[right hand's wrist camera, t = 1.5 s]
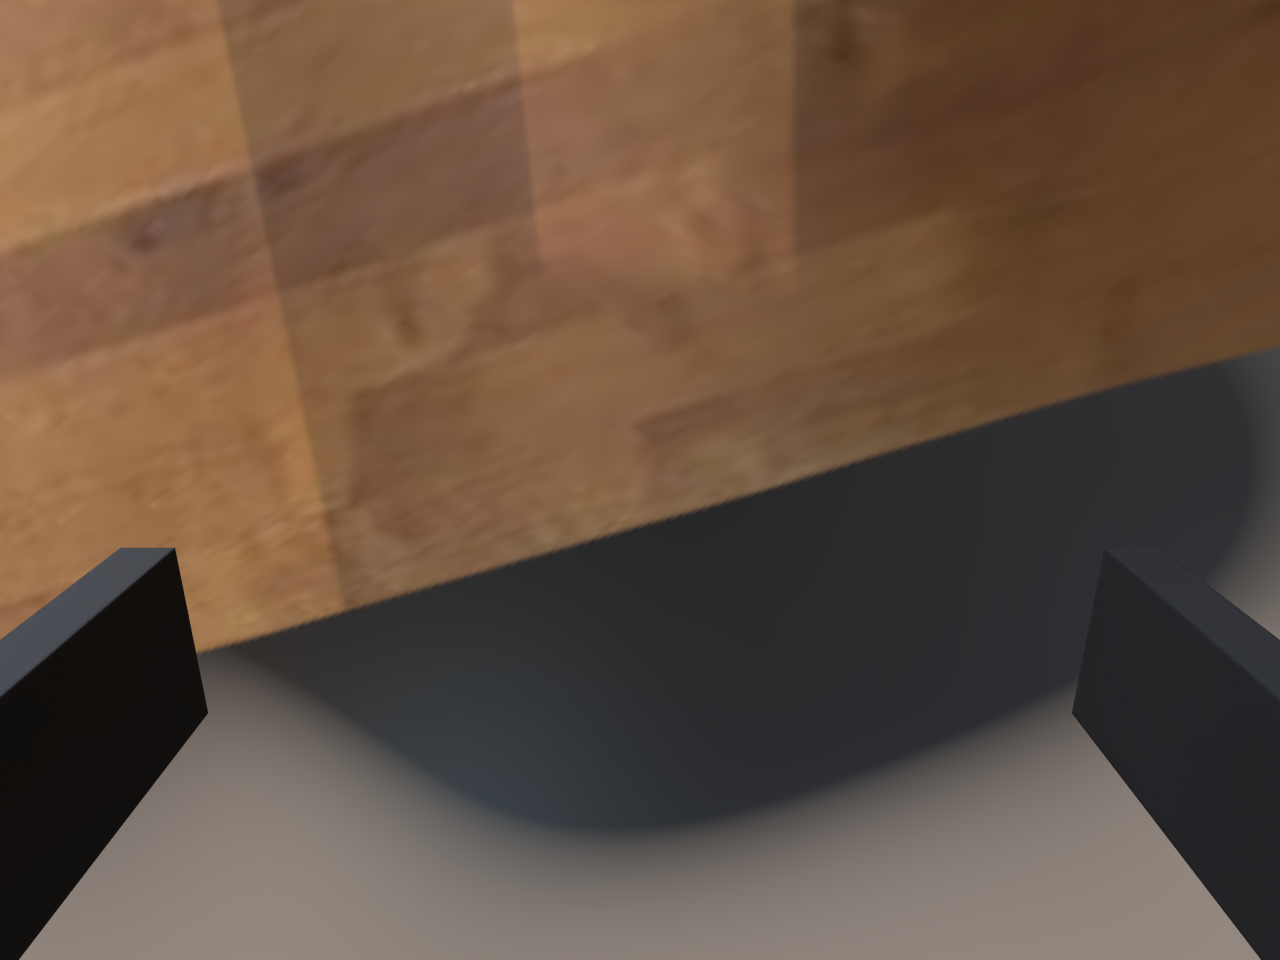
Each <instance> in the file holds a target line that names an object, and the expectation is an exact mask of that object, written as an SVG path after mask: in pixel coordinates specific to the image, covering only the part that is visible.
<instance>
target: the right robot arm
mask: <svg viewBox="0 0 1280 960" xmlns="http://www.w3.org/2000/svg"><path fill="white" fill-rule="evenodd" d="M207 714H208V710H207V705H206V700H205V695H204V690H203V685H202V680H201V675H200V670H199V665H198V660H197V655H196V650H195V645H194V640H193V635H192V630H191V625H190V620H189V615H188V610H187V605H186V600H185V595H184V590H183V585H182V580H181V576H180V571H179V566H178V561H177V556H176V551H175V548H120V549H119V550H117V551H116V552H115V553H113V554H112V555H111V556H109V557H108V558H107V559H105V560H104V561H103V562H102V563H100V564H99V565H98V566H96V567H95V568H94V569H92V570H91V571H90V572H88V573H87V574H86V575H85V576H83V577H82V578H81V579H79V580H78V581H77V582H75V583H74V584H73V585H71V586H70V587H69V588H68V589H66V590H65V591H64V592H62V593H61V594H60V595H58V596H57V597H56V598H55V599H53V600H52V601H51V602H49V603H48V604H47V605H45V606H44V607H43V608H41V609H40V610H39V611H38V612H36V613H35V614H34V615H32V616H31V617H30V618H28V619H27V620H26V621H24V622H23V623H22V624H21V625H19V626H18V627H17V628H15V629H14V630H13V631H11V632H10V633H9V634H7V635H6V636H5V637H4V638H2V639H1V640H0V960H19V959H20V957H21V956H22V955H23V954H24V952H25V951H26V950H27V948H28V947H29V946H30V945H31V943H32V942H33V941H34V939H35V938H36V937H37V935H38V934H39V933H40V931H41V930H42V929H43V928H44V926H45V925H46V924H47V922H48V921H49V920H50V918H51V917H52V916H53V915H54V913H55V912H56V911H57V909H58V908H59V907H60V905H61V904H62V903H63V902H64V900H65V899H66V898H67V896H68V895H69V894H70V892H71V891H72V890H73V888H74V887H75V886H76V884H77V883H78V882H79V881H80V879H81V878H82V877H83V875H84V874H85V873H86V872H87V870H88V869H89V868H90V866H91V865H92V864H93V862H94V861H95V860H96V858H97V857H98V856H99V855H100V853H101V852H102V851H103V849H104V848H105V847H106V845H107V844H108V843H109V841H110V840H111V839H112V838H113V836H114V835H115V834H116V832H117V831H118V830H119V829H120V827H121V826H122V825H123V823H124V822H125V821H126V819H127V818H128V817H129V815H130V814H131V813H132V812H133V810H134V809H135V808H136V806H137V805H138V804H139V802H140V801H141V800H142V799H143V797H144V796H145V795H146V793H147V792H148V791H149V789H150V788H151V787H152V785H153V784H154V783H155V782H156V780H157V779H158V778H159V776H160V775H161V774H162V772H163V771H164V770H165V768H166V767H167V766H168V765H169V763H170V762H171V761H172V759H173V758H174V757H175V756H176V754H177V753H178V752H179V750H180V749H181V748H182V746H183V745H184V744H185V743H186V741H187V740H188V739H189V737H190V736H191V735H192V733H193V732H194V731H195V729H196V728H197V727H198V726H199V724H200V723H201V722H202V720H203V719H204V718H205V716H206V715H207ZM1072 714H1073V715H1074V716H1075V718H1076V719H1077V720H1078V722H1079V723H1080V724H1081V726H1082V727H1083V728H1084V729H1085V731H1086V732H1087V733H1088V735H1089V736H1090V737H1091V739H1092V740H1093V741H1094V742H1095V744H1096V745H1097V746H1098V748H1099V749H1100V750H1101V752H1102V753H1103V754H1104V756H1105V757H1106V758H1107V759H1108V761H1109V762H1110V763H1111V765H1112V766H1113V767H1114V769H1115V770H1116V771H1117V772H1118V774H1119V775H1120V776H1121V778H1122V779H1123V780H1124V782H1125V783H1126V784H1127V785H1128V787H1129V788H1130V789H1131V791H1132V792H1133V793H1134V795H1135V796H1136V797H1137V799H1138V800H1139V801H1140V802H1141V804H1142V805H1143V806H1144V808H1145V809H1146V810H1147V812H1148V813H1149V814H1150V815H1151V817H1152V818H1153V819H1154V821H1155V822H1156V823H1157V825H1158V826H1159V827H1160V829H1161V830H1162V831H1163V832H1164V834H1165V835H1166V836H1167V838H1168V839H1169V840H1170V842H1171V843H1172V844H1173V845H1174V847H1175V848H1176V849H1177V851H1178V852H1179V853H1180V855H1181V856H1182V857H1183V858H1184V860H1185V861H1186V862H1187V864H1188V865H1189V866H1190V868H1191V869H1192V870H1193V871H1194V873H1195V874H1196V875H1197V877H1198V878H1199V879H1200V881H1201V882H1202V883H1203V885H1204V886H1205V887H1206V888H1207V890H1208V891H1209V892H1210V894H1211V895H1212V896H1213V897H1214V899H1215V900H1216V902H1217V903H1218V904H1219V905H1220V907H1221V908H1222V909H1223V911H1224V912H1225V913H1226V915H1227V916H1228V917H1229V918H1230V920H1231V921H1232V922H1233V924H1234V925H1235V926H1236V928H1237V929H1238V930H1239V931H1240V933H1241V934H1242V935H1243V937H1244V938H1245V939H1246V941H1247V942H1248V943H1249V944H1250V946H1251V947H1252V948H1253V950H1254V951H1255V952H1256V954H1257V955H1258V956H1259V958H1260V959H1261V960H1280V640H1279V639H1278V638H1276V637H1275V636H1274V635H1273V634H1271V633H1270V632H1269V631H1267V630H1266V629H1265V628H1263V627H1262V626H1261V625H1259V624H1258V623H1257V622H1256V621H1254V620H1253V619H1252V618H1250V617H1249V616H1248V615H1246V614H1245V613H1244V612H1242V611H1241V610H1240V609H1238V608H1237V607H1236V606H1235V605H1233V604H1232V603H1231V602H1229V601H1228V600H1227V599H1225V598H1224V597H1223V596H1222V595H1220V594H1219V593H1218V592H1216V591H1215V590H1214V589H1212V588H1211V587H1210V586H1209V585H1207V584H1206V583H1205V582H1203V581H1202V580H1201V579H1199V578H1198V577H1197V576H1195V575H1194V574H1193V573H1192V572H1190V571H1189V570H1188V569H1186V568H1185V567H1184V566H1182V565H1181V564H1180V563H1178V562H1177V561H1176V560H1174V559H1173V558H1172V557H1171V556H1169V555H1168V554H1167V553H1165V552H1164V551H1163V550H1161V549H1160V548H1105V551H1104V556H1103V561H1102V566H1101V571H1100V576H1099V580H1098V585H1097V590H1096V595H1095V600H1094V606H1093V611H1092V615H1091V620H1090V625H1089V630H1088V635H1087V640H1086V645H1085V650H1084V656H1083V660H1082V665H1081V670H1080V675H1079V680H1078V685H1077V690H1076V695H1075V700H1074V705H1073V710H1072Z"/></svg>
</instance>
